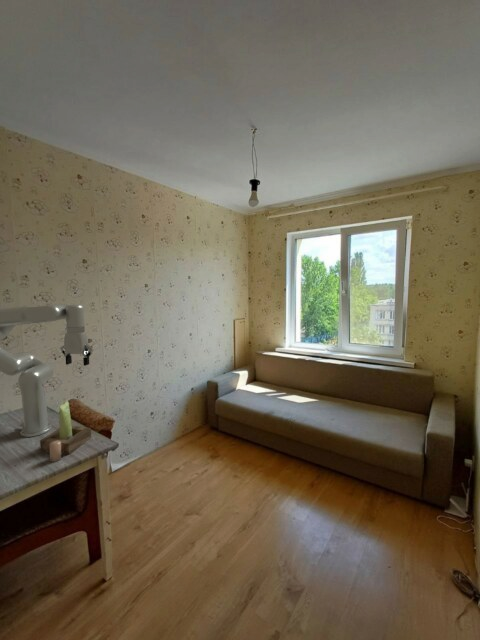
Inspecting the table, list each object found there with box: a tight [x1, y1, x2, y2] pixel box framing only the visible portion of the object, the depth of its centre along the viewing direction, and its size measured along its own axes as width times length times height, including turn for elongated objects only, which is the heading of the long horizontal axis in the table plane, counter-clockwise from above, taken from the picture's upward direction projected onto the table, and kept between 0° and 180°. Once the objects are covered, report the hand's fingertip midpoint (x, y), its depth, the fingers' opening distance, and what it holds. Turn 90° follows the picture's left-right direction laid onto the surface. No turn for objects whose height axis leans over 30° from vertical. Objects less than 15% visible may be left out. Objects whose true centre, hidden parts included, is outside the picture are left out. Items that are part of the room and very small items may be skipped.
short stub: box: [49, 440, 62, 462], centre depth 119 cm, size 4×4×7 cm
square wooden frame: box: [39, 425, 92, 455], centre depth 130 cm, size 14×14×5 cm
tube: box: [58, 399, 72, 440], centre depth 130 cm, size 6×5×20 cm
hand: (77, 364), depth 141 cm, fingers open, 9 cm apart
